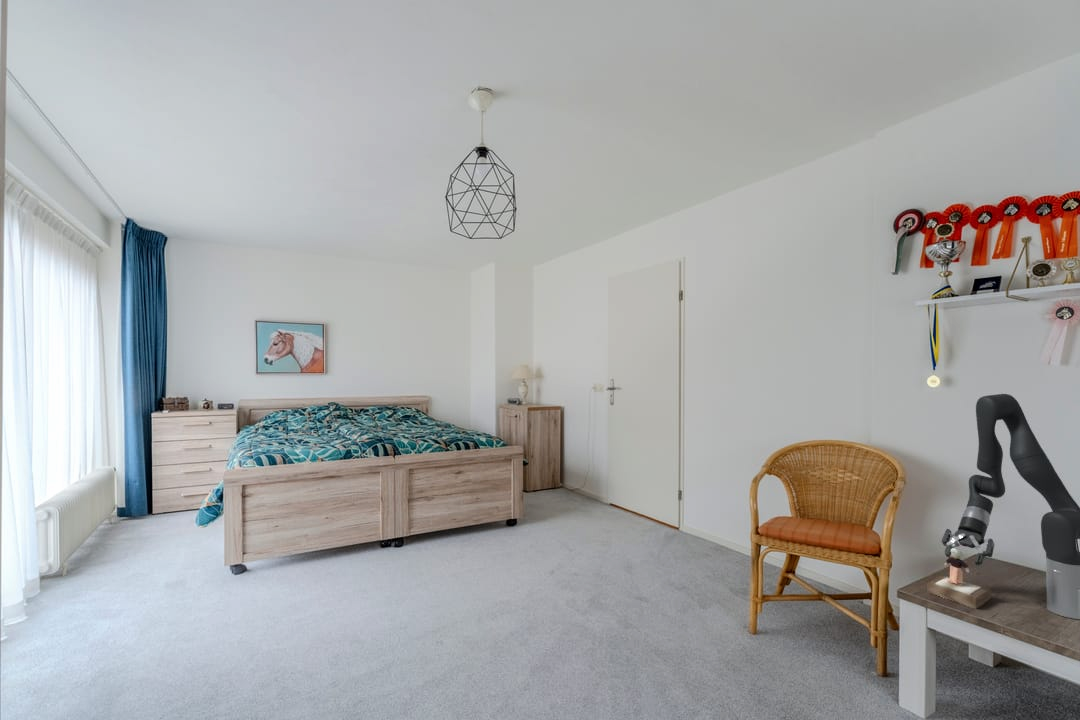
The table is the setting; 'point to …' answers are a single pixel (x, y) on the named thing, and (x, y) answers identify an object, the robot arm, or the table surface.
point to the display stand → (959, 592)
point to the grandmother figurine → (956, 567)
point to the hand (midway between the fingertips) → (961, 560)
